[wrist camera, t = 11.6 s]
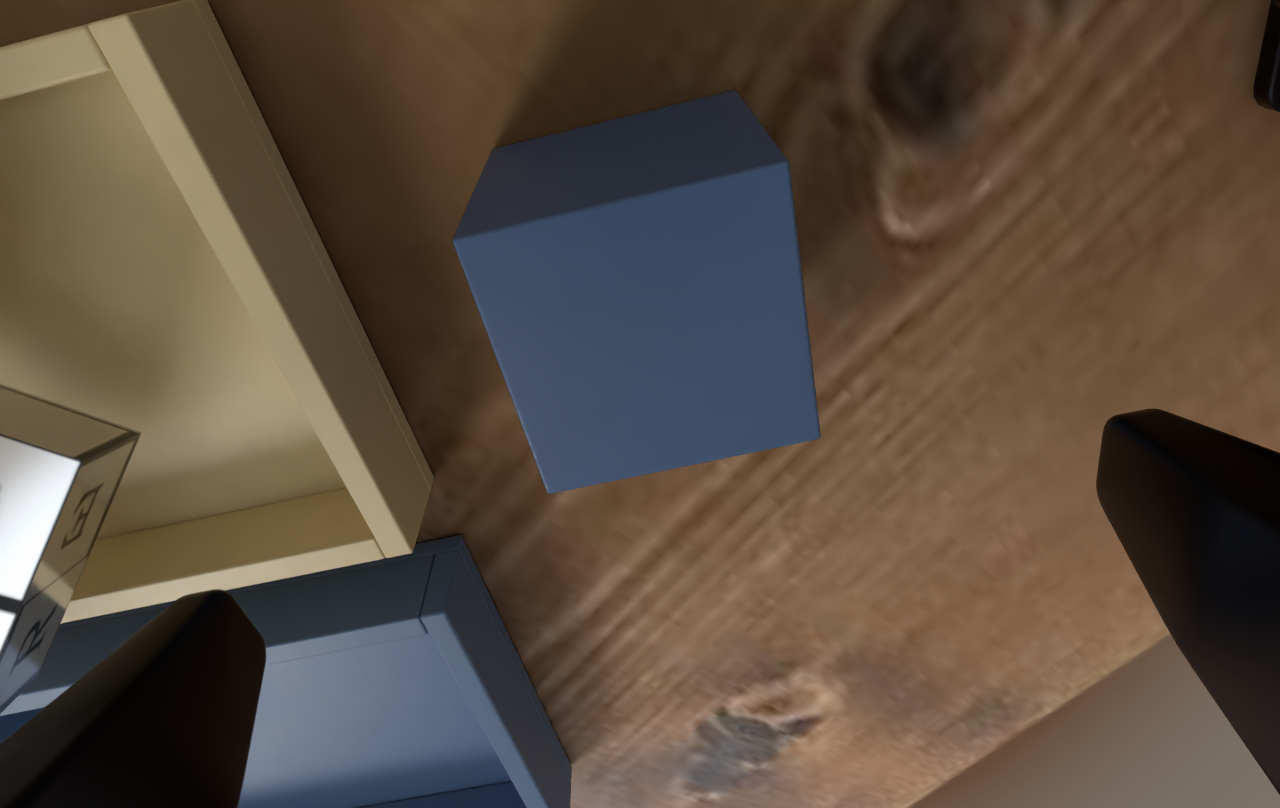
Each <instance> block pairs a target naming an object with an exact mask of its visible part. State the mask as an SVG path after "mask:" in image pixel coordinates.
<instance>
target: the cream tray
mask: <svg viewBox="0 0 1280 808" xmlns="http://www.w3.org/2000/svg"><path fill="white" fill-rule="evenodd" d="M0 384H3V385H6V386H9V387H12V388H15V389H18V390H21V391H24V392H26V393H29V394H32V395H35V396H38V397H41V398H44V399H47V400H50V401H53V402H55V403H58V404H61V405H64V406H67V407H70V408H73V409H76V410H79V411H82V412H84V413H87V414H90V415H93V416H96V417H99V418H102V419H105V420H108V421H110V422H113V423H116V424H119V425H122V426H125V427H128V428H131V429H134V430H137V431H139V432H142V433H141V435H140V437H139V440H138V442H137V444H136V447H135V449H134V451H133V454H132V456H131V459H130V461H129V463H128V466H127V468H126V470H125V473H124V475H123V477H122V480H121V482H120V484H119V487H118V489H117V491H116V494H115V496H114V499H113V501H112V503H111V506H110V508H109V510H108V513H107V515H106V517H105V520H104V522H103V524H102V527H101V529H100V531H99V534H98V536H97V539H96V541H95V543H94V546H93V548H92V550H91V553H90V555H89V557H88V560H87V562H86V564H85V567H84V569H83V572H82V574H81V576H80V579H79V581H78V583H77V586H76V588H75V590H74V593H73V595H72V597H71V600H70V602H69V604H68V607H67V609H66V612H65V614H64V616H63V619H62V621H61V623H66V622H71V621H76V620H81V619H86V618H91V617H96V616H101V615H106V614H111V613H116V612H121V611H126V610H131V609H136V608H141V607H146V606H151V605H156V604H161V603H166V602H171V601H176V600H177V599H179V598H180V597H182V596H185V595H188V594H192V593H197V592H202V591H208V590H213V589H220V590H224V591H225V590H230V589H235V588H240V587H245V586H250V585H255V584H260V583H265V582H270V581H275V580H280V579H285V578H290V577H295V576H300V575H305V574H310V573H315V572H320V571H325V570H330V569H335V568H340V567H345V566H350V565H355V564H360V563H365V562H370V561H375V560H380V559H384V558H385V557H386V558H390V557H395V556H400V555H405V554H410V553H412V552H413V550H414V547H415V543H416V540H417V536H418V533H419V529H420V526H421V522H422V519H423V516H424V512H425V509H426V505H427V502H428V498H429V495H430V490H431V487H432V484H433V481H434V476H433V474H432V472H431V470H430V468H429V466H428V464H427V462H426V459H425V457H424V455H423V453H422V451H421V449H420V447H419V445H418V443H417V441H416V438H415V436H414V434H413V432H412V430H411V428H410V426H409V424H408V422H407V419H406V417H405V415H404V413H403V411H402V409H401V407H400V405H399V403H398V401H397V398H396V396H395V394H394V392H393V390H392V388H391V386H390V384H389V382H388V380H387V377H386V375H385V373H384V371H383V369H382V367H381V365H380V363H379V361H378V358H377V356H376V354H375V352H374V350H373V348H372V346H371V344H370V342H369V340H368V337H367V335H366V333H365V331H364V329H363V327H362V325H361V323H360V321H359V319H358V316H357V314H356V312H355V310H354V308H353V306H352V304H351V302H350V300H349V298H348V295H347V293H346V291H345V289H344V287H343V285H342V283H341V281H340V279H339V276H338V274H337V272H336V270H335V268H334V266H333V264H332V262H331V260H330V258H329V255H328V253H327V251H326V249H325V247H324V245H323V243H322V241H321V239H320V237H319V234H318V232H317V230H316V228H315V226H314V224H313V222H312V220H311V218H310V216H309V213H308V211H307V209H306V207H305V205H304V203H303V201H302V199H301V197H300V194H299V192H298V190H297V188H296V186H295V184H294V182H293V180H292V178H291V176H290V173H289V171H288V169H287V167H286V165H285V163H284V161H283V159H282V157H281V155H280V152H279V150H278V148H277V146H276V144H275V142H274V140H273V138H272V136H271V134H270V131H269V129H268V127H267V125H266V123H265V121H264V119H263V117H262V115H261V112H260V110H259V108H258V106H257V104H256V102H255V100H254V98H253V96H252V94H251V91H250V89H249V87H248V85H247V83H246V81H245V79H244V77H243V75H242V73H241V70H240V68H239V66H238V64H237V62H236V60H235V58H234V56H233V54H232V51H231V49H230V47H229V45H228V43H227V41H226V39H225V37H224V35H223V33H222V30H221V28H220V26H219V24H218V22H217V20H216V18H215V16H214V14H213V12H212V9H211V7H210V5H209V3H208V1H207V0H182V1H178V2H173V3H169V4H165V5H160V6H156V7H152V8H147V9H143V10H138V11H134V12H130V13H125V14H121V15H118V16H114V17H110V18H107V19H103V20H99V21H95V22H92V23H89V24H85V25H81V26H77V27H73V28H70V29H66V30H62V31H59V32H55V33H51V34H47V35H44V36H40V37H36V38H33V39H29V40H25V41H21V42H18V43H14V44H10V45H7V46H3V47H0ZM61 623H60V624H61Z"/></svg>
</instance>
